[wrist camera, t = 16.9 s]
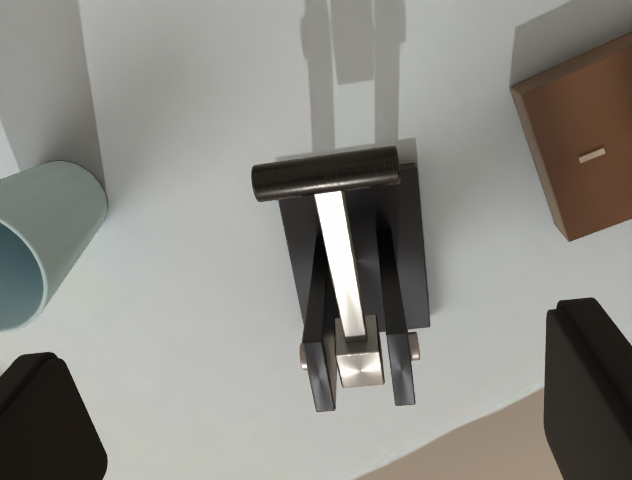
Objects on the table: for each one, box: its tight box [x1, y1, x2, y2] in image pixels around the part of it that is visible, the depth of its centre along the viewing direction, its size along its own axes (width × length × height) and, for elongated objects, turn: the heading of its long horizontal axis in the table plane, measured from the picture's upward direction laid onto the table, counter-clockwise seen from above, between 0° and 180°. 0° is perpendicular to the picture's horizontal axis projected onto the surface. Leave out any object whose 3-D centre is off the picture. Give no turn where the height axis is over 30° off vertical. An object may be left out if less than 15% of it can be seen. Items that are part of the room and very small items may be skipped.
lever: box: [251, 146, 400, 388], centre depth 24 cm, size 13×6×2 cm, turn 10°
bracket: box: [278, 163, 430, 412], centre depth 32 cm, size 12×9×13 cm
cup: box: [0, 161, 107, 333], centre depth 32 cm, size 8×8×10 cm
